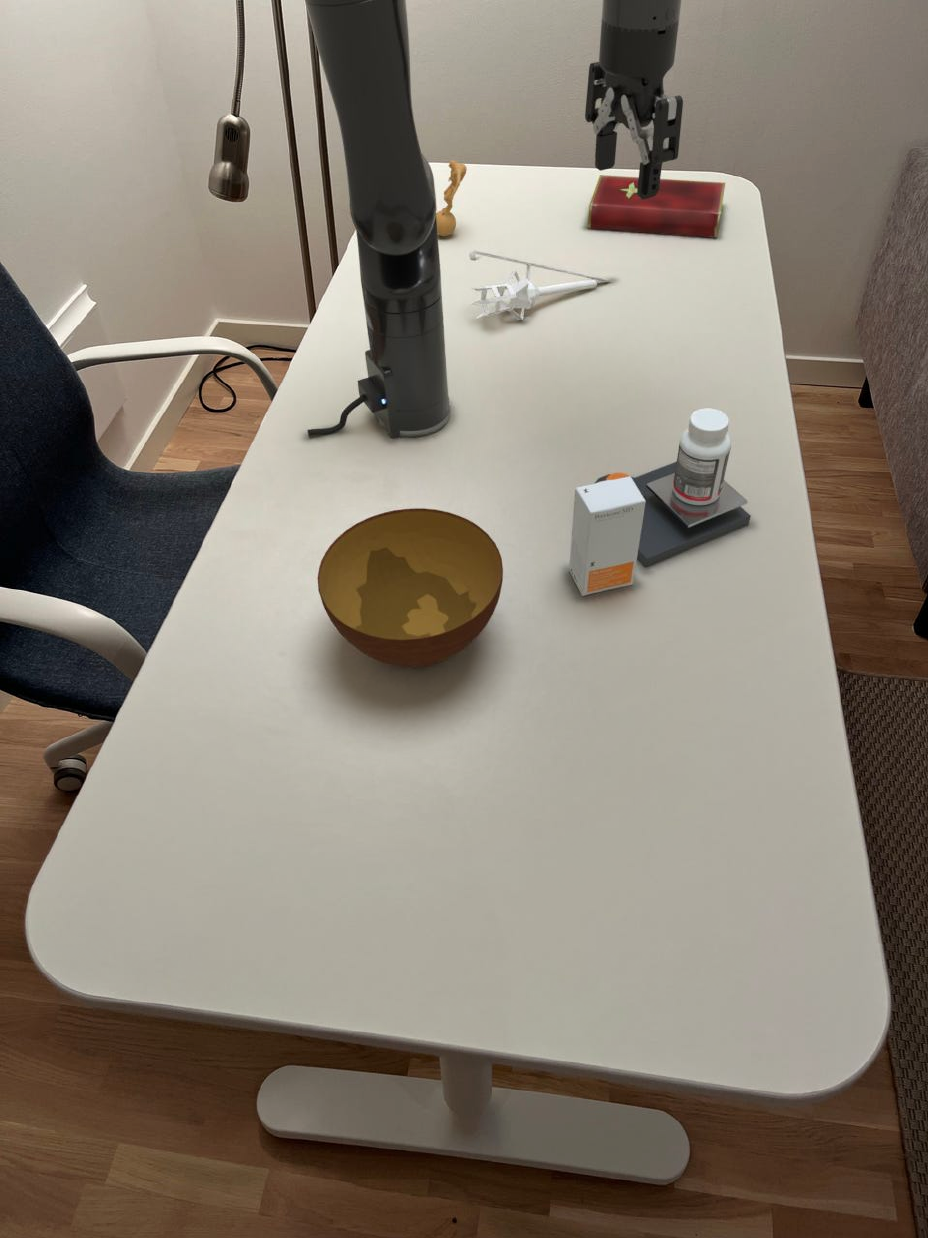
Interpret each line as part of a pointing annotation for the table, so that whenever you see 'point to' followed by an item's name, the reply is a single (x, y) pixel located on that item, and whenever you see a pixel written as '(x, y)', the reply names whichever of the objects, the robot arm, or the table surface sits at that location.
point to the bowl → (411, 585)
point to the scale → (675, 523)
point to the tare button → (616, 476)
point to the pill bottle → (702, 458)
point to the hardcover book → (657, 207)
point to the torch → (526, 288)
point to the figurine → (450, 200)
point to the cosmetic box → (606, 535)
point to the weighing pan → (695, 512)
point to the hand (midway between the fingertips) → (625, 182)
